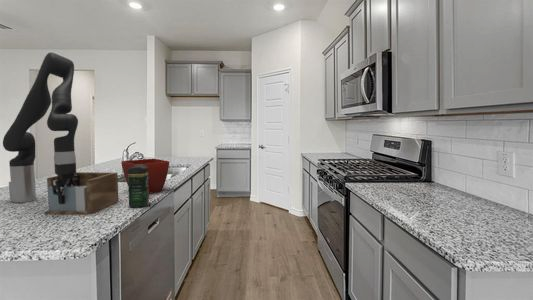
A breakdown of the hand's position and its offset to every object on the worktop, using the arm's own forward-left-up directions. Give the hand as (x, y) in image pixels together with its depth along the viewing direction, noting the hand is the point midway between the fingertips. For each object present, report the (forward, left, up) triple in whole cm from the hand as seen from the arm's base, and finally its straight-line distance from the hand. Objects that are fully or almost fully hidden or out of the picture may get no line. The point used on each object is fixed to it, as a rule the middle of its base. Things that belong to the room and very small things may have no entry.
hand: (67, 201), depth 129 cm
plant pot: (+15, +40, -5) cm, 44 cm away
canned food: (+20, +24, -5) cm, 32 cm away
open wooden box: (+1, +8, -4) cm, 9 cm away
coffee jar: (+25, +12, -5) cm, 28 cm away
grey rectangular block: (+1, 0, -4) cm, 4 cm away
